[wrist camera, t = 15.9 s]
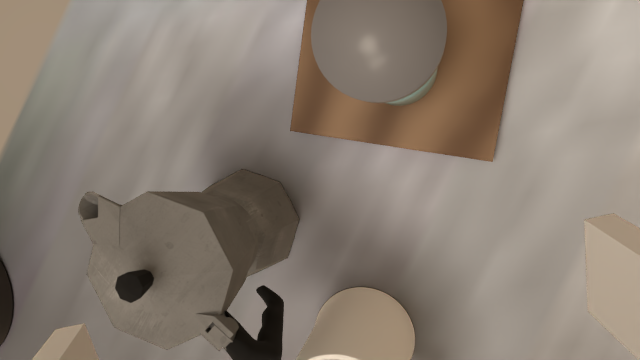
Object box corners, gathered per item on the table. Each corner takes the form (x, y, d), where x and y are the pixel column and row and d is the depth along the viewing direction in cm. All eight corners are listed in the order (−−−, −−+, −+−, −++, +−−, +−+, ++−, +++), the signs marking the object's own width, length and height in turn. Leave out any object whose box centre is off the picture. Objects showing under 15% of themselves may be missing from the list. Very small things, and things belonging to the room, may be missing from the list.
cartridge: (355, 102, 39) (303, 93, 23) (367, 24, 38) (320, -43, 22) (432, 113, 38) (434, 110, 22) (446, 32, 37) (458, -33, 21)
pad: (293, 130, 41) (290, 130, 40) (312, -19, 39) (310, -22, 38) (490, 160, 38) (492, 161, 37) (521, 0, 36) (524, -3, 35)
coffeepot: (164, 211, 45) (-5, 268, 27) (224, 131, 43) (82, 137, 25) (291, 326, 43) (198, 464, 26) (359, 249, 41) (309, 344, 24)
